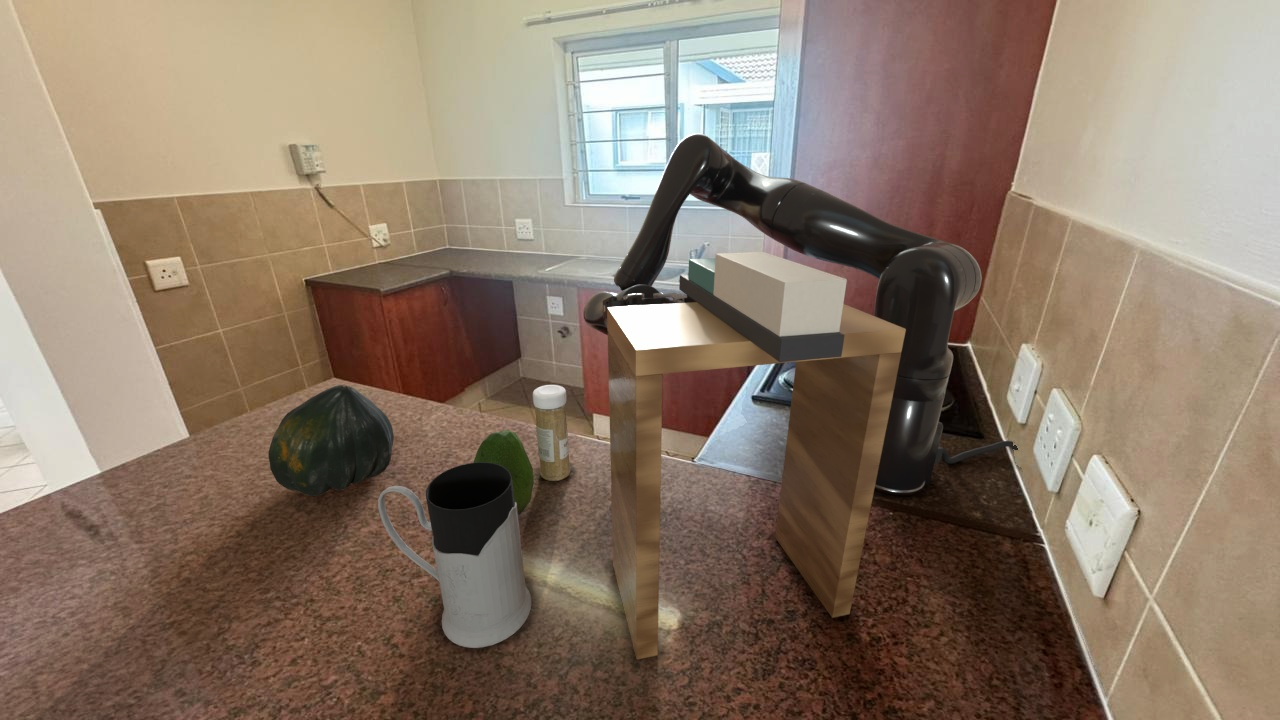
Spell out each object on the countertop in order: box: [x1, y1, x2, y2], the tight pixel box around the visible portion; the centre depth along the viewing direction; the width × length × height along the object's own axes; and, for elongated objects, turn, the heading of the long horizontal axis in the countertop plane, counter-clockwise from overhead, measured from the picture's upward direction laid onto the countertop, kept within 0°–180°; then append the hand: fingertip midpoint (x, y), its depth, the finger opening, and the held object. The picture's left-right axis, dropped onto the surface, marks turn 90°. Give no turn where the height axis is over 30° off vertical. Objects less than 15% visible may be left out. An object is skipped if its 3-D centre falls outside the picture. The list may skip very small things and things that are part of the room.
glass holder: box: [377, 462, 533, 649], centre depth 49 cm, size 9×14×15 cm, turn 80°
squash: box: [268, 384, 395, 497], centre depth 70 cm, size 14×15×15 cm
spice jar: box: [532, 384, 572, 482], centre depth 71 cm, size 5×5×14 cm
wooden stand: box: [607, 302, 906, 660], centre depth 48 cm, size 22×12×30 cm, turn 103°
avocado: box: [472, 429, 535, 516], centre depth 63 cm, size 8×8×12 cm
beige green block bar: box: [678, 251, 848, 363], centre depth 42 cm, size 5×22×5 cm, turn 13°
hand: (670, 301), depth 66 cm, fingers open, 8 cm apart
